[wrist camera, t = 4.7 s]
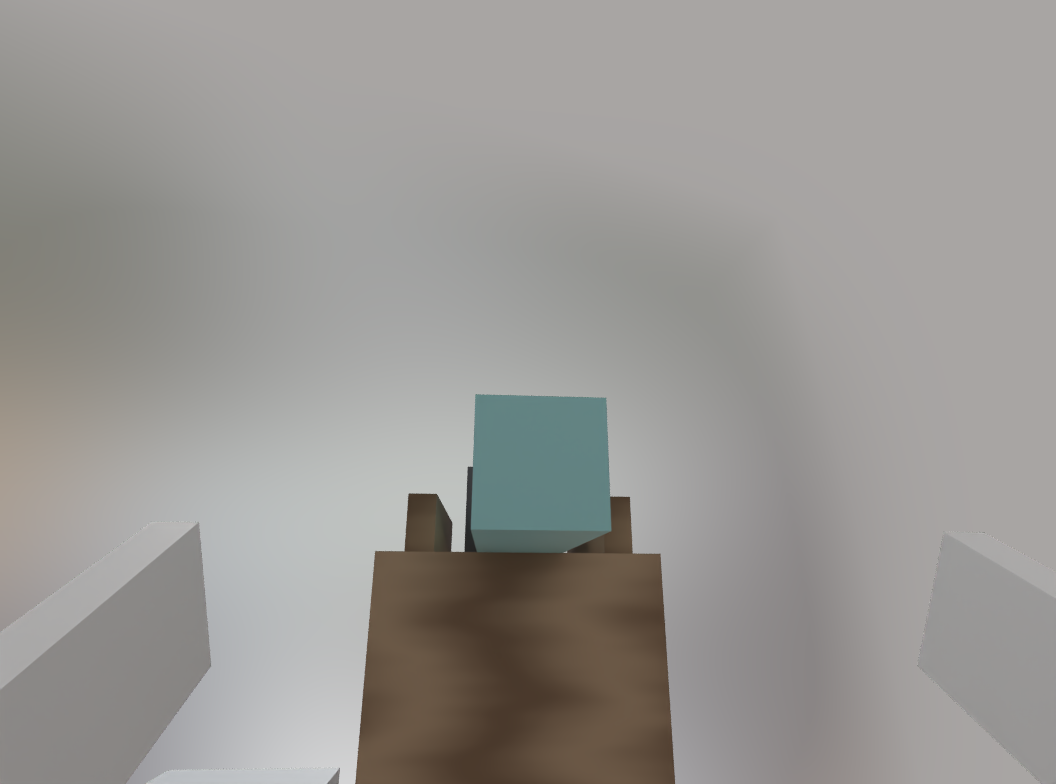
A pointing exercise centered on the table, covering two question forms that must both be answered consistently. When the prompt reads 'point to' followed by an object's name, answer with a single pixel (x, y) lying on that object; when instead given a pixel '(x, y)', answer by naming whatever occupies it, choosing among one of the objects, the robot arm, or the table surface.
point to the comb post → (515, 662)
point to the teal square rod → (537, 474)
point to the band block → (250, 776)
